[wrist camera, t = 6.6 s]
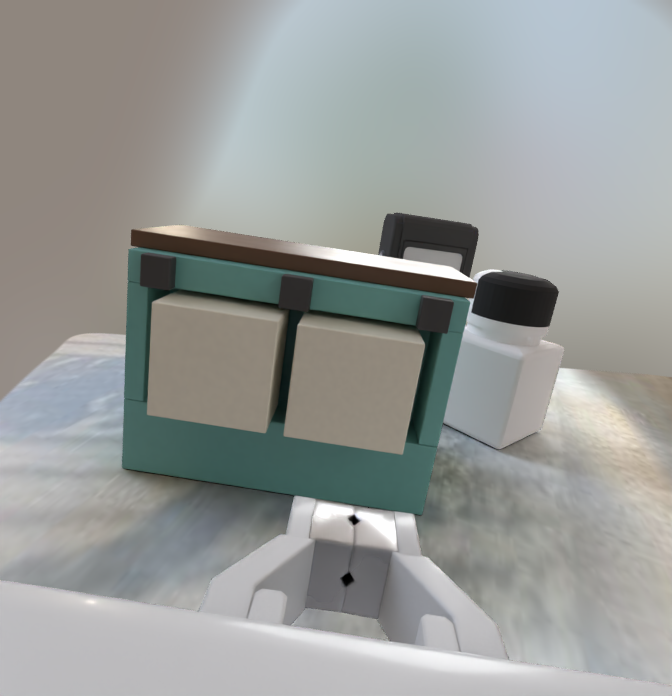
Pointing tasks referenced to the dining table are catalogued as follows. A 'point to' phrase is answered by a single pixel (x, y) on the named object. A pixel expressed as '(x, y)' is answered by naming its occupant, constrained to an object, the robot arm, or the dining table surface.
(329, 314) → the piano key right
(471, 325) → the medicine bottle
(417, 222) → the card reader
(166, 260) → the toy piano
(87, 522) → the dining table surface
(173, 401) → the piano key left
